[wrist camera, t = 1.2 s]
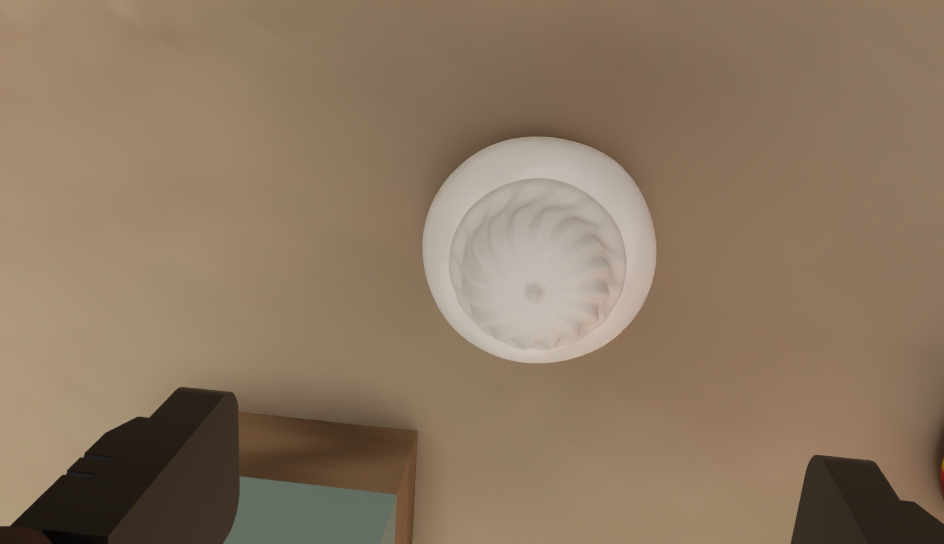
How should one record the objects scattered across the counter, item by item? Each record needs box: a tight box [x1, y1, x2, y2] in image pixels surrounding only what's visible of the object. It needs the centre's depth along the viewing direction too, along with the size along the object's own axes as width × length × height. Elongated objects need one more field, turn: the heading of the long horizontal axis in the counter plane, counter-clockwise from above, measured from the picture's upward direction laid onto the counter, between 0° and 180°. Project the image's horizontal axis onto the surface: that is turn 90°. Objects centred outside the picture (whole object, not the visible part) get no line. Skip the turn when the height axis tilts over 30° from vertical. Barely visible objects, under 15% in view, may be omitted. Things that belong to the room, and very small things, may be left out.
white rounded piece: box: [422, 137, 657, 363], centre depth 23 cm, size 6×6×7 cm
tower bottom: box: [238, 412, 418, 544], centre depth 29 cm, size 7×7×4 cm
